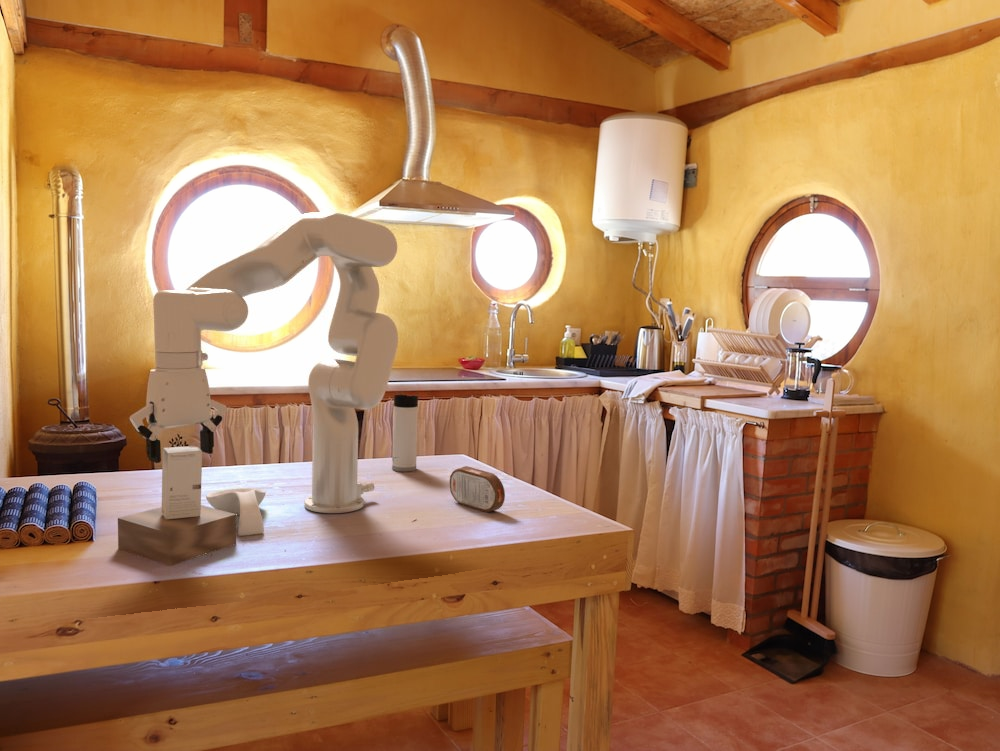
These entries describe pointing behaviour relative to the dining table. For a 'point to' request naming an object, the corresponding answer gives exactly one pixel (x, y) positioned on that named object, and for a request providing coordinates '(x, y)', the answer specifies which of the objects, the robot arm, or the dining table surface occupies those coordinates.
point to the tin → (477, 489)
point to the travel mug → (405, 433)
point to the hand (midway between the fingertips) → (181, 456)
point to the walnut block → (176, 534)
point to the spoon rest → (241, 507)
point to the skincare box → (181, 482)
